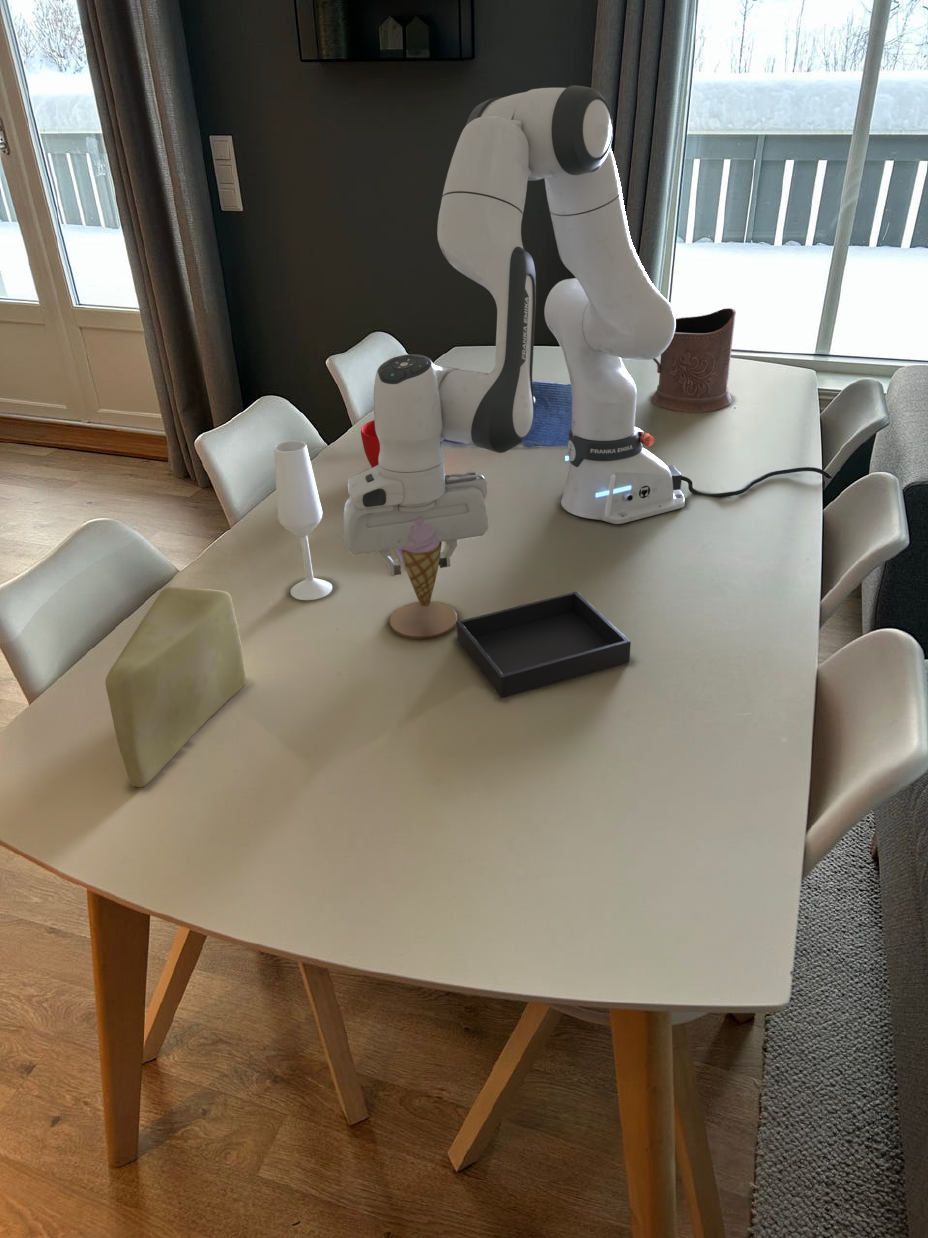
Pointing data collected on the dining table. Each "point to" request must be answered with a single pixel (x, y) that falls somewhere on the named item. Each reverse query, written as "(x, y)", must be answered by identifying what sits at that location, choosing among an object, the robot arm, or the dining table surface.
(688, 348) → the cup holder
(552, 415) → the mat
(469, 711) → the dining table surface
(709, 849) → the dining table surface
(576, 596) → the tray
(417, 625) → the coaster
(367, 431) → the ceramic cup
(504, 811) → the dining table surface
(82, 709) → the dining table surface
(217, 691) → the cheese
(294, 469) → the champagne flute
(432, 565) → the ice cream cone
